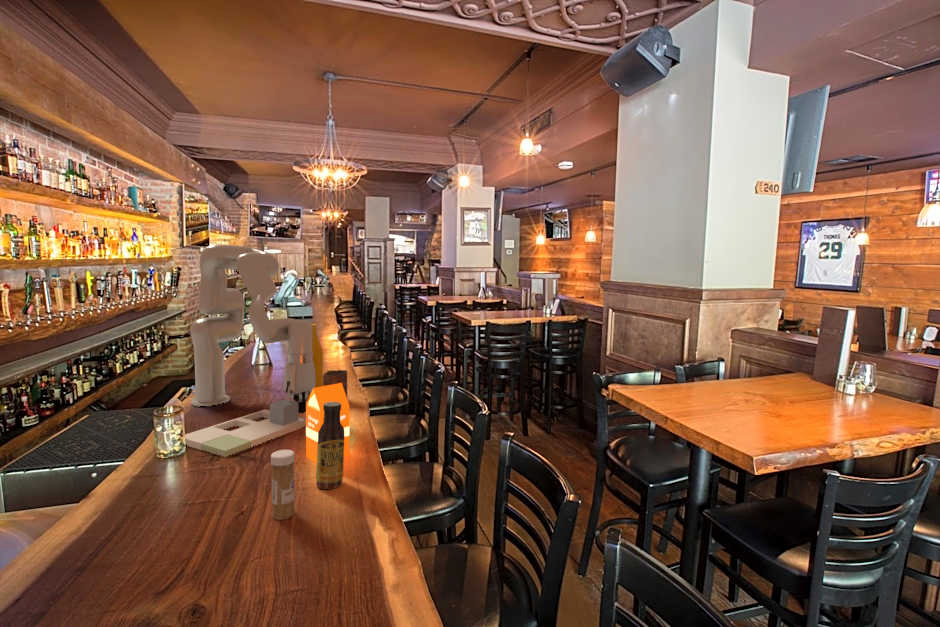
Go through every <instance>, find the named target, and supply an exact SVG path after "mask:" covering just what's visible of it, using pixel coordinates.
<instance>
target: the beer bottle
mask: <svg viewBox="0 0 940 627" xmlns="http://www.w3.org/2000/svg"><path fill="white" fill-rule="evenodd" d="M311 324H312V353H313V356H312V361H313V363H314V368H315V387H314V388H317V387H322V386H323V374H324V350H323V347H322V345H321V343H320V341H319V337H318V329H317V324H316V323H311ZM310 395H311V393H310V394H309V395H308V399H307V400H306V401H308V400H309V397H310Z"/></svg>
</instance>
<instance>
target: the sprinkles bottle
mask: <svg viewBox="0 0 940 627" xmlns="http://www.w3.org/2000/svg"><path fill="white" fill-rule="evenodd" d="M295 457H296V456H295V452H294V450H292V449H279V450H276V451H274V452H272V453H271V455H270V464H271V503H272V513H271V517H272V519H274V520H279V521H281V520H287V519H289V518H291V517H292V516H294V514H295V513H296V511H295V509H296V508H295V474H294V473H295V468H294V467H295V466H294V465H295V464H294V463H295V459H296V458H295Z"/></svg>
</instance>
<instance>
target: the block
mask: <svg viewBox="0 0 940 627" xmlns="http://www.w3.org/2000/svg"><path fill="white" fill-rule="evenodd" d="M269 410H270V422H271V423H275V424H279V425H283V426H284V425H287V424H289V423H292V422H295V421H298V417H299V413H298V402H296V401H294V400H289V399H286V398H285V399H282V400H278V401H275V402H272V403H269Z"/></svg>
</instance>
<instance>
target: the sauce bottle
mask: <svg viewBox="0 0 940 627" xmlns="http://www.w3.org/2000/svg"><path fill="white" fill-rule="evenodd" d="M323 410H324V420H323V421H324V422H323V424H322V426H321V428H320V430H319V432H318V443H317V463H316V467H315V468H316V469H315V470H316V472H315V479H316V484H315V485H316V486H317V488H319V489H322V490H333V489H335V488H338V487H340V486H341V485H342V483H343V478H344V467H345V466H344V462H345V458H344V428H343V426H342V424H341V423H340V410H341V403H340V402H326V403H324V406H323Z"/></svg>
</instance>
